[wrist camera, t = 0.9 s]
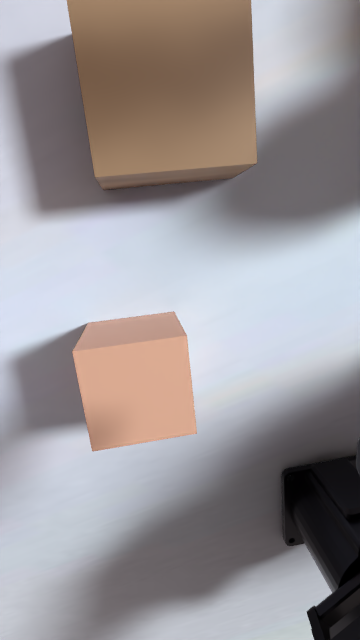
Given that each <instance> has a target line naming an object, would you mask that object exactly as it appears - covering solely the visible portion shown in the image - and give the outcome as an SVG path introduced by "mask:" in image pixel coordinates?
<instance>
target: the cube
mask: <svg viewBox="0 0 360 640" xmlns="http://www.w3.org/2000/svg"><path fill="white" fill-rule="evenodd" d="M72 353H73V358H74V363H75V368H76V373H77V378H78V383H79V388H80V393H81V398H82V403H83V408H84V413H85V418H86V423H87V428H88V433H89V438H90V443H91V448H92V451H98V450H104V449H110V448H115V447H121V446H127V445H133V444H139V443H144V442H150V441H156V440H162V439H168V438H173V437H179V436H185V435H191V434H197V430H196V420H195V410H194V401H193V391H192V381H191V371H190V362H189V352H188V342H187V335H186V333H185V331H184V329H183V327H182V326H181V324H180V322H179V320H178V318H177V316H176V314H175V312H167V313H159V314H152V315H144V316H137V317H129V318H121V319H114V320H106V321H99V322H91V323H88V324H87V326H86V328H85V329H84V331H83V333H82V335H81V337H80V339H79V340H78V342H77V344H76V346H75V348H74V349H73V351H72Z"/></svg>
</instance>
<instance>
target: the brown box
mask: <svg viewBox="0 0 360 640" xmlns="http://www.w3.org/2000/svg"><path fill="white" fill-rule="evenodd" d="M67 5H68V11H69V17H70V24H71V30H72V36H73V43H74V49H75V55H76V62H77V68H78V74H79V80H80V87H81V93H82V99H83V106H84V112H85V118H86V124H87V131H88V137H89V143H90V150H91V156H92V162H93V169H94V175H95V178H96V180H97V181H98V183H99V184H100V186H101V187H102V189H103V190H110V189H121V188H132V187H143V186H154V185H165V184H176V183H187V182H198V181H209V180H220V179H231V178H234V177H235V176H237V175H239V174H240V173H242V172H244V171H245V170H247V169H249V168H250V167H252V166H254V165H255V164H257V145H256V119H255V92H254V66H253V40H252V14H251V0H67Z"/></svg>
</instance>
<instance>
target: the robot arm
mask: <svg viewBox="0 0 360 640" xmlns="http://www.w3.org/2000/svg"><path fill="white" fill-rule="evenodd" d="M290 475H291V476H290ZM289 476H290V477H289ZM281 477H282V514H283V539H284V541H285V543H286V544H287V545H288V546H294V545H299V544H303V543H305V544H306V546H307V548H308V550H309V552H310V553H311V555H312V557H313V559H314V561H315V562H316V564H317V566H318V568H319V570H320V571H321V573H322V575H323V577H324V579H325V580H326V582H327V584H328V586H329V588H330V589H331V591H332V594H331V595H330V596H328V597H327V598H326V599H325V600H323V601H322V602H321V603H320V604H319V605H317V606H316V607H315V606H313V607H312V608H310V609H309V610H308V611H307V615H308V618H309V621H310V624H311V627H312V629H311V630H312V634H313V637H314V640H360V438H359V439H358V445H357V455H356V456H351V457H346V458H341V459H335V460H330V461H325V462H319V463H314V464H309V465H304V466H298V467H293V468H288V469H285V470H284V471H283V472H282V476H281Z"/></svg>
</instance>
